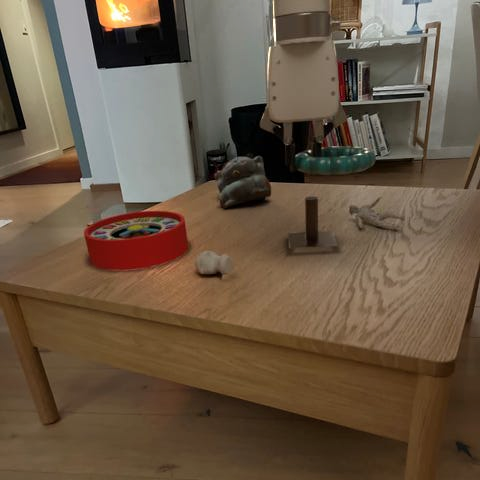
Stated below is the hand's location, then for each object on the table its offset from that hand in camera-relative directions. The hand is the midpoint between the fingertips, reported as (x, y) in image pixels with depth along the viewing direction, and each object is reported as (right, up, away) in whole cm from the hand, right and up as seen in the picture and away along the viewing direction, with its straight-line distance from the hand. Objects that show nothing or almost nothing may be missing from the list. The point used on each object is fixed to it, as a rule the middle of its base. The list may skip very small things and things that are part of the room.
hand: (303, 168), depth 74 cm
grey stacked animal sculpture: (-9, +7, +53) cm, 54 cm away
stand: (+4, -9, +20) cm, 22 cm away
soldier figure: (+19, -4, +27) cm, 34 cm away
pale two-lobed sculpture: (-14, -16, +10) cm, 24 cm away
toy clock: (-30, -10, +24) cm, 40 cm away
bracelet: (+5, +1, -1) cm, 5 cm away
